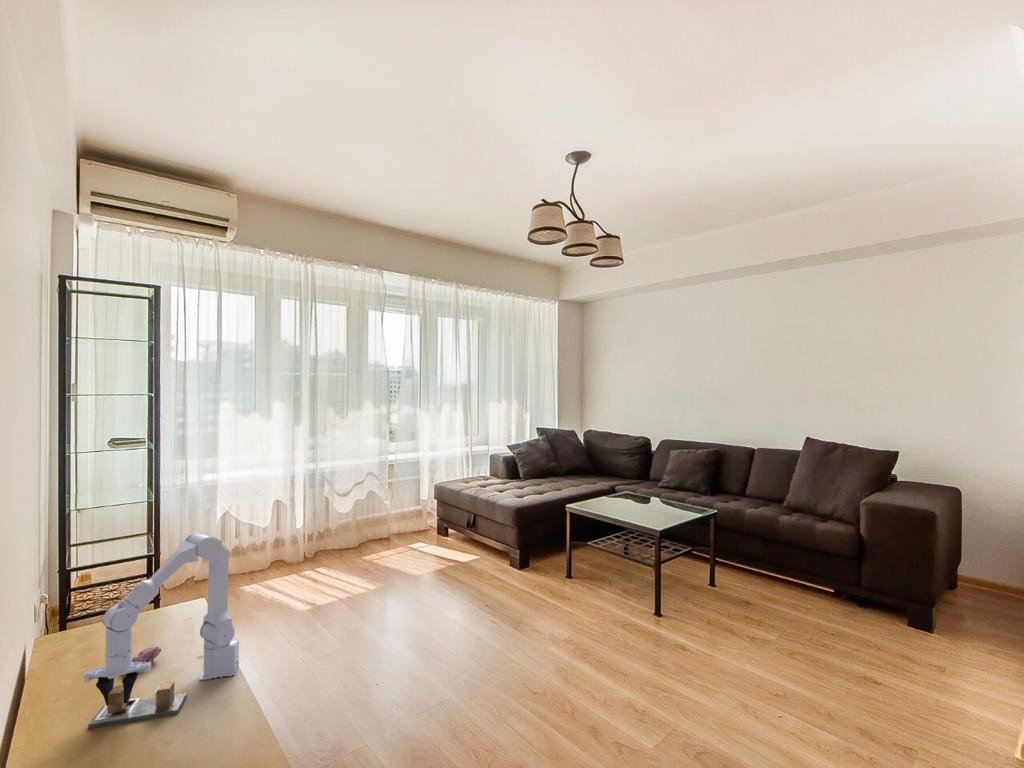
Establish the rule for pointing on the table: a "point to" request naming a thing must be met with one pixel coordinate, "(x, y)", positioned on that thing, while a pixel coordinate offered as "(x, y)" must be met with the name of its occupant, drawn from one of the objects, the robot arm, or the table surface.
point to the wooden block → (116, 699)
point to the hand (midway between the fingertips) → (118, 702)
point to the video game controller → (147, 655)
